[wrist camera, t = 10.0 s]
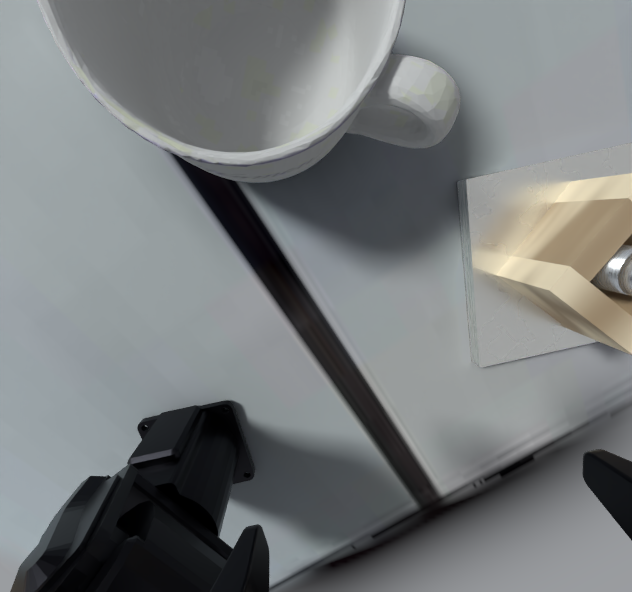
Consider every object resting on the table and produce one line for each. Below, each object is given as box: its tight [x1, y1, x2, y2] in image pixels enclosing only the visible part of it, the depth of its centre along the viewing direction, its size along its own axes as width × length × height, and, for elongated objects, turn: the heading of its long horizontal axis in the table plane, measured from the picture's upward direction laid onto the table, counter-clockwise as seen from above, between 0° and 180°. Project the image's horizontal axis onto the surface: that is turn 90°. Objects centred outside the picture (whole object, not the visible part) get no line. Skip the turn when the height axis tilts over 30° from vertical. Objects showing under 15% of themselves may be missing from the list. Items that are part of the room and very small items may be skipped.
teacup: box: [37, 0, 460, 183], centre depth 12 cm, size 14×11×8 cm
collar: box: [496, 173, 632, 355], centre depth 16 cm, size 6×6×4 cm
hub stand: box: [457, 143, 632, 368], centre depth 16 cm, size 12×12×6 cm
